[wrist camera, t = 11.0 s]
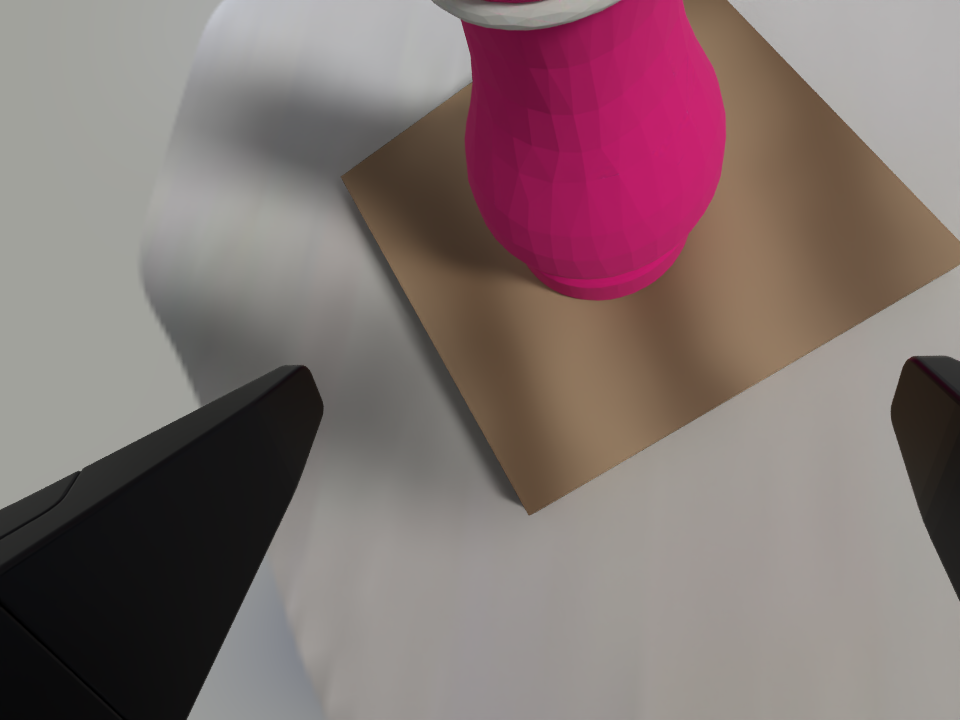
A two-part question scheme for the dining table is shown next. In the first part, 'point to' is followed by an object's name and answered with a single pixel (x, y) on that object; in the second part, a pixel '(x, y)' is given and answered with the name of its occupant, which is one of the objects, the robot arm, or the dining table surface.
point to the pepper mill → (590, 136)
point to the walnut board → (672, 297)
